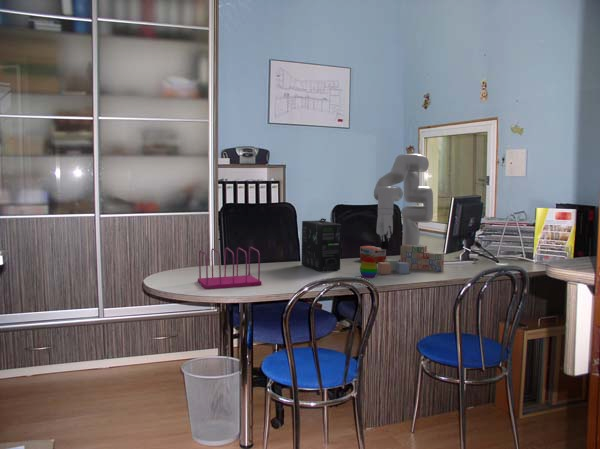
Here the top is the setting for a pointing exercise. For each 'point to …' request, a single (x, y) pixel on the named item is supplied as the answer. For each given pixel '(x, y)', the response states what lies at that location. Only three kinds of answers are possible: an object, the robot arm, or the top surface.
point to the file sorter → (231, 280)
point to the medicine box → (373, 253)
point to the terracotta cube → (384, 268)
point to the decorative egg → (368, 268)
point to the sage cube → (392, 263)
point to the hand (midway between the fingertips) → (384, 249)
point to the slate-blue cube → (402, 267)
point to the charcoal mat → (389, 274)
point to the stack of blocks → (421, 258)
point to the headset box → (321, 245)
